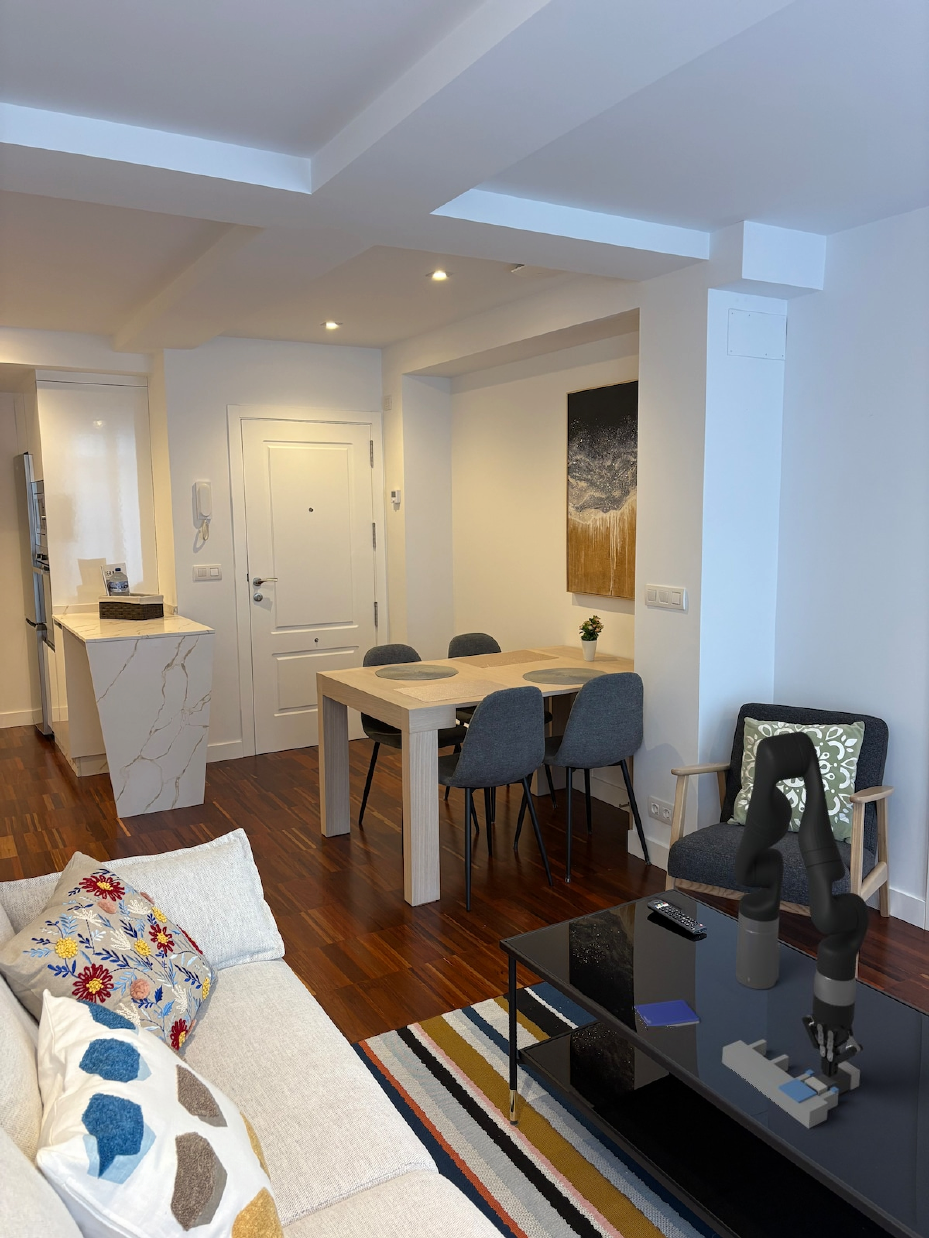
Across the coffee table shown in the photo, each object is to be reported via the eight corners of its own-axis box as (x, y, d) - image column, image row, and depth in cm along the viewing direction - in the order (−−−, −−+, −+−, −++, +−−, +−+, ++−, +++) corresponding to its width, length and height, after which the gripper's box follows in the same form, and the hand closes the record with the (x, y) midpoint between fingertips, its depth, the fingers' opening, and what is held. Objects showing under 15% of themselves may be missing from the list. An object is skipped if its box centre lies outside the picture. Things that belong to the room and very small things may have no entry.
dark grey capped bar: (844, 1076, 183) (845, 1060, 183) (858, 1085, 180) (860, 1070, 180) (803, 1095, 177) (804, 1080, 177) (818, 1106, 175) (819, 1090, 174)
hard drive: (648, 1026, 198) (699, 1018, 201) (632, 1005, 206) (682, 998, 209) (647, 1032, 198) (699, 1025, 201) (632, 1011, 206) (682, 1004, 209)
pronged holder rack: (756, 1047, 192) (757, 1030, 192) (844, 1109, 173) (846, 1091, 173) (722, 1062, 187) (722, 1045, 187) (808, 1128, 169) (809, 1109, 168)
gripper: (877, 1004, 171) (870, 1087, 174) (819, 971, 182) (814, 1050, 185) (850, 1016, 167) (844, 1100, 170) (793, 981, 179) (788, 1061, 182)
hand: (828, 1074), depth 178 cm, fingers closed
